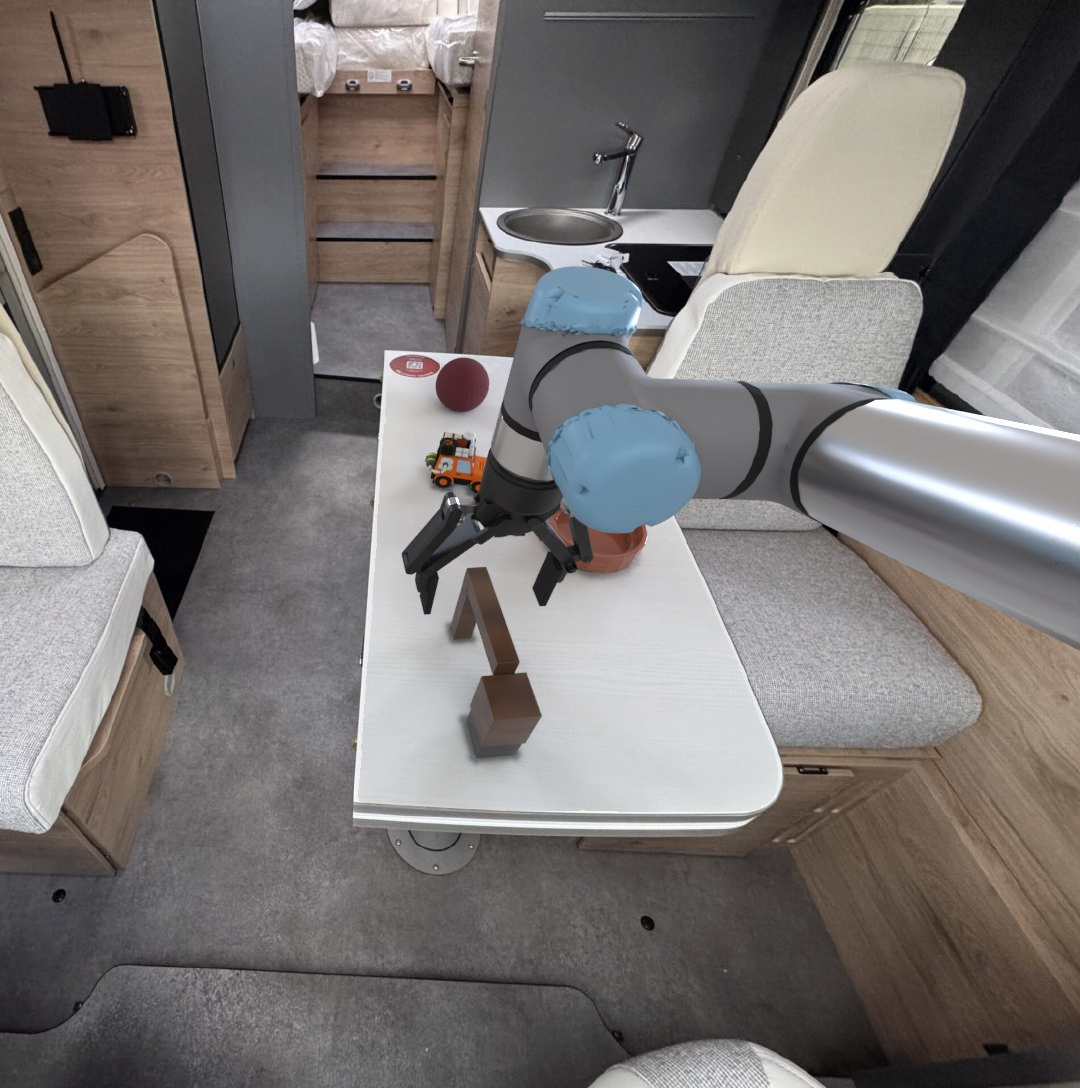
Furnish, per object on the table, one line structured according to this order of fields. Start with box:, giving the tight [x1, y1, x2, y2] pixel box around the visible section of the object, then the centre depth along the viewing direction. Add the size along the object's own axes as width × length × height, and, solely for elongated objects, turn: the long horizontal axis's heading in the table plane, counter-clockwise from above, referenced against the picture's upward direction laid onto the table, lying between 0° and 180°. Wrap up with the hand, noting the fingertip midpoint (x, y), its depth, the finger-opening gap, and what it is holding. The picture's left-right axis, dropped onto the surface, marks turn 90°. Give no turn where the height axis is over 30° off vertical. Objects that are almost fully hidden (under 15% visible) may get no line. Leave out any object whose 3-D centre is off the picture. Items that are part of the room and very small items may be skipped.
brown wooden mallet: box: [450, 566, 543, 759], centre depth 66 cm, size 18×5×12 cm, turn 6°
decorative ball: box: [435, 357, 490, 413], centre depth 108 cm, size 10×10×10 cm
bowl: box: [547, 508, 649, 574], centre depth 87 cm, size 14×14×4 cm
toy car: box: [424, 431, 487, 494], centre depth 94 cm, size 7×12×9 cm, turn 80°
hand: (482, 601), depth 66 cm, fingers open, 13 cm apart
